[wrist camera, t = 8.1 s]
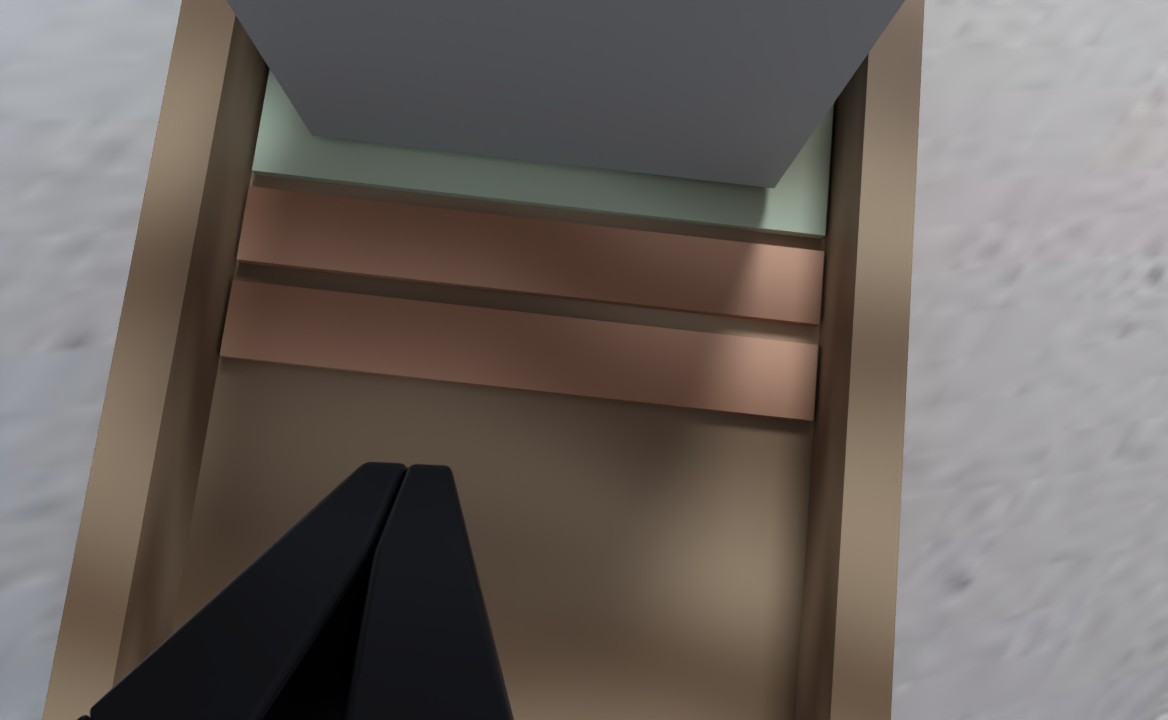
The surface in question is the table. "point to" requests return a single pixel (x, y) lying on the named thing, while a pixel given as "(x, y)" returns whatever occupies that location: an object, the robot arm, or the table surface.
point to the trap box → (522, 392)
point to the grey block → (573, 76)
